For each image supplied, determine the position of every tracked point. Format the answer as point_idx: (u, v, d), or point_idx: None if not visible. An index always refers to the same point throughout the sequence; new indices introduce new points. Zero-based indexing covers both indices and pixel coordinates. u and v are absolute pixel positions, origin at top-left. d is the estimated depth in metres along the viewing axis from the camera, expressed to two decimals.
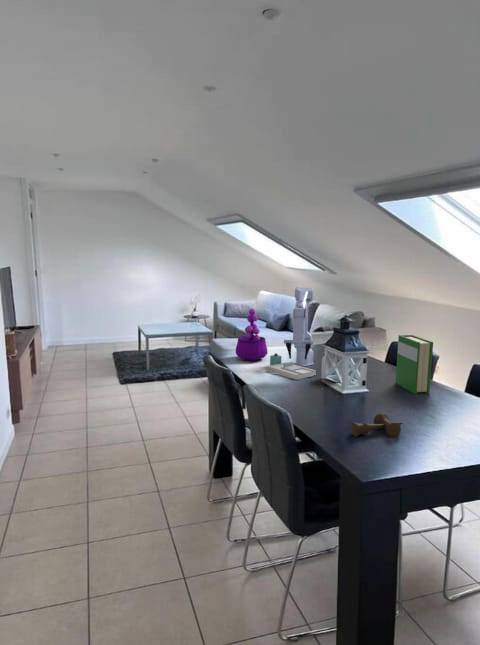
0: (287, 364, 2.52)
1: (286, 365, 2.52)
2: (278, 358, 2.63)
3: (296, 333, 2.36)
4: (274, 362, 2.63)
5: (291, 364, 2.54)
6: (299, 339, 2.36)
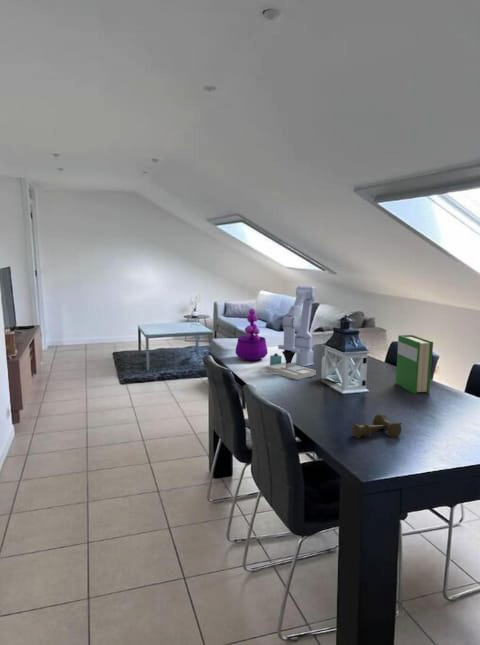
0: (289, 365, 2.51)
1: (288, 366, 2.50)
2: (278, 358, 2.63)
3: (284, 341, 2.50)
4: (274, 362, 2.63)
5: (293, 365, 2.53)
6: (286, 347, 2.49)
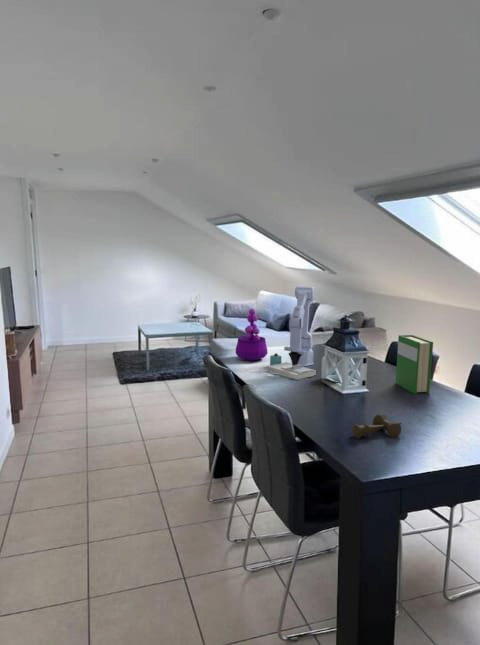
0: (296, 366, 2.47)
1: (294, 367, 2.47)
2: (278, 358, 2.63)
3: (290, 342, 2.47)
4: (274, 362, 2.63)
5: (300, 366, 2.49)
6: (292, 348, 2.46)
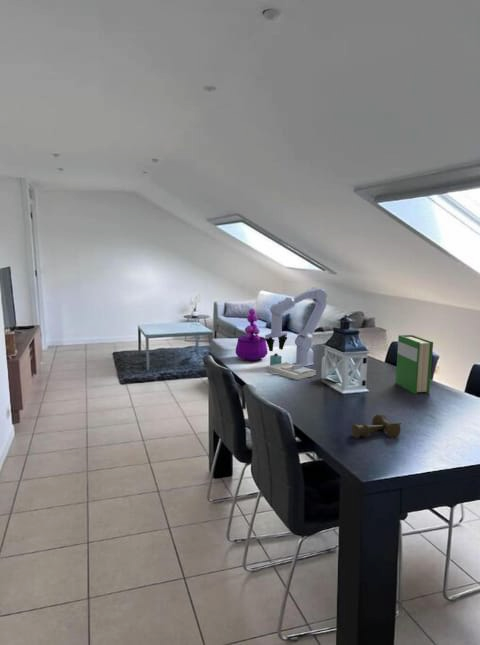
0: (296, 366, 2.47)
1: (295, 367, 2.47)
2: (278, 358, 2.63)
3: None
4: (274, 362, 2.63)
5: (300, 366, 2.49)
6: None
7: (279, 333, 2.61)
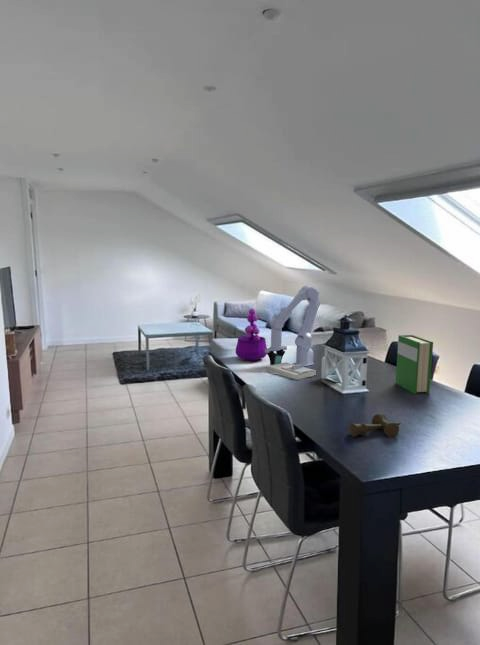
0: (296, 366, 2.47)
1: (295, 367, 2.47)
2: (278, 358, 2.63)
3: None
4: None
5: (300, 366, 2.49)
6: None
7: (279, 347, 2.62)
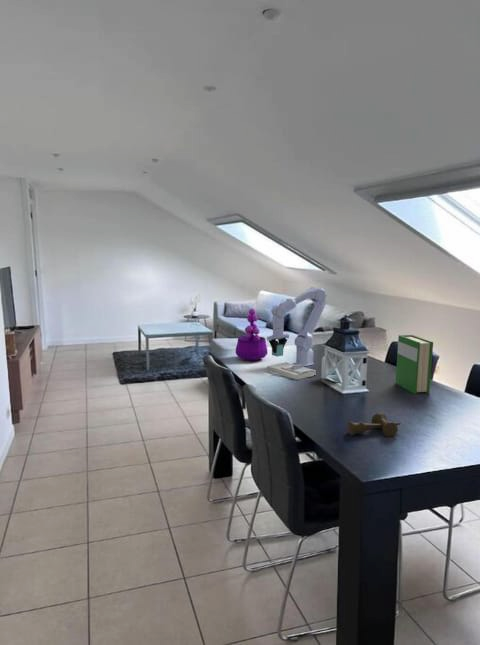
0: (296, 366, 2.47)
1: (295, 367, 2.47)
2: (280, 347, 2.61)
3: None
4: (276, 350, 2.61)
5: (300, 366, 2.49)
6: None
7: (281, 335, 2.59)
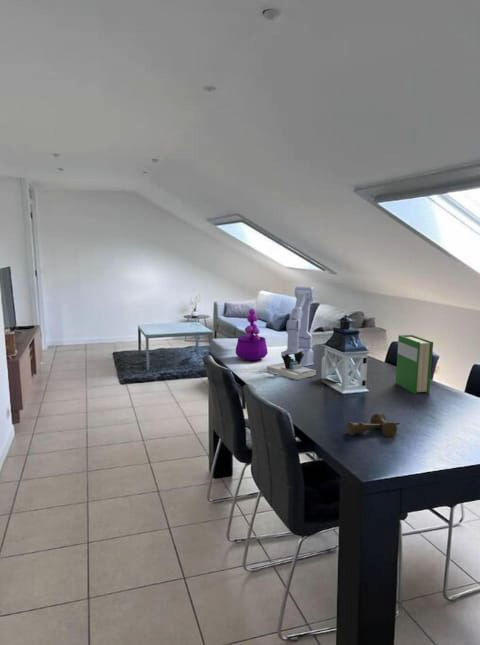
0: (296, 366, 2.47)
1: (295, 367, 2.47)
2: (294, 364, 2.50)
3: None
4: (290, 367, 2.49)
5: (300, 366, 2.49)
6: None
7: (296, 350, 2.47)
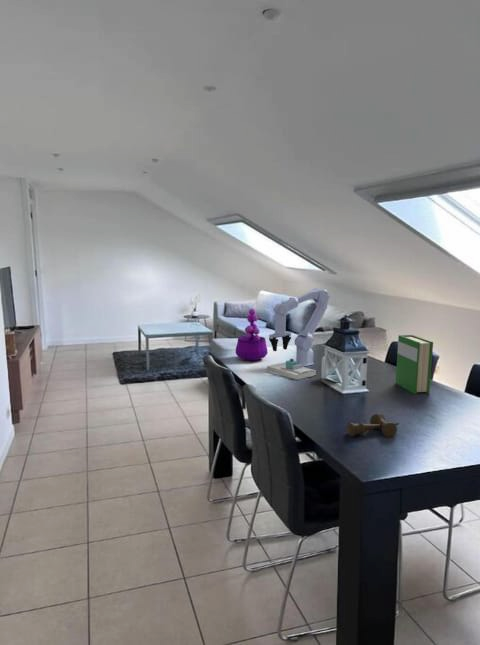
0: (296, 366, 2.47)
1: (295, 367, 2.47)
2: (294, 364, 2.50)
3: None
4: (290, 367, 2.49)
5: (300, 366, 2.49)
6: None
7: (283, 333, 2.60)
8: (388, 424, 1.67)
